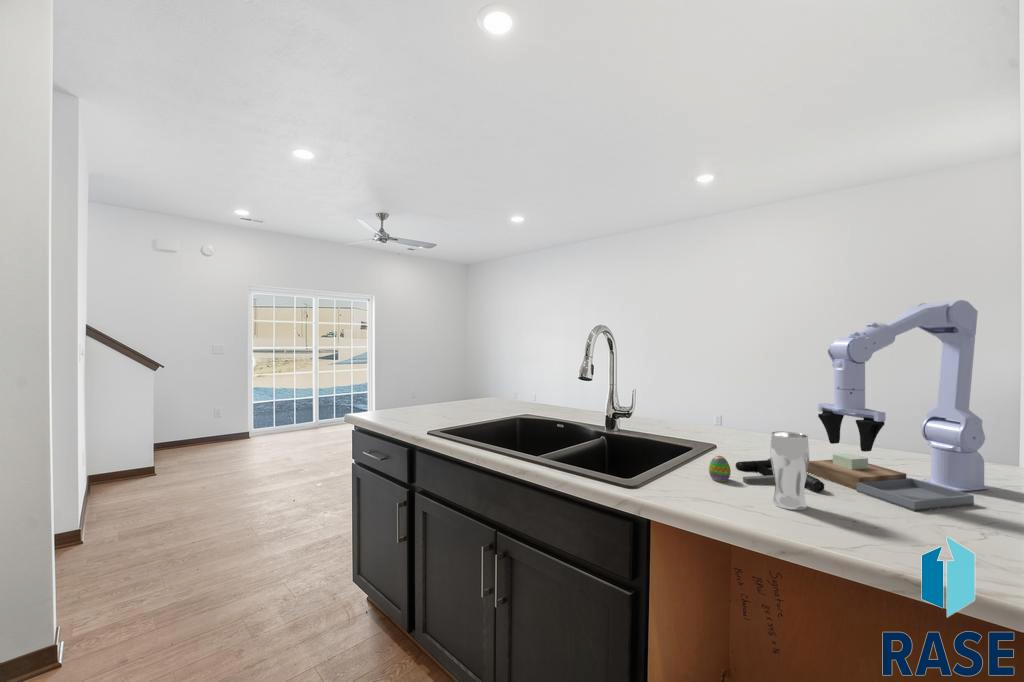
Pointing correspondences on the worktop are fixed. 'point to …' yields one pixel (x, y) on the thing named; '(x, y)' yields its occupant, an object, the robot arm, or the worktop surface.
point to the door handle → (768, 478)
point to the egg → (719, 469)
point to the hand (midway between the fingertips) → (849, 447)
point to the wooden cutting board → (852, 473)
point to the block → (850, 461)
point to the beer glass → (789, 468)
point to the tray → (915, 494)
